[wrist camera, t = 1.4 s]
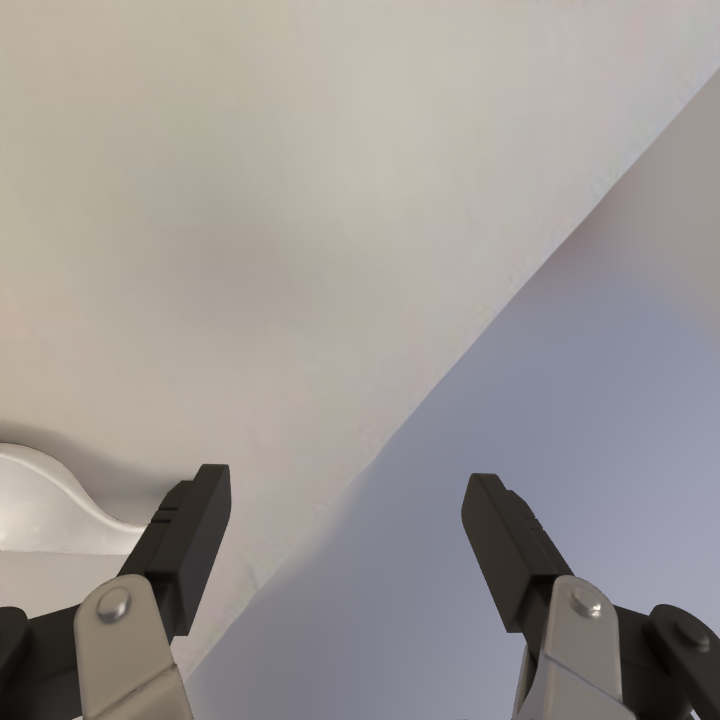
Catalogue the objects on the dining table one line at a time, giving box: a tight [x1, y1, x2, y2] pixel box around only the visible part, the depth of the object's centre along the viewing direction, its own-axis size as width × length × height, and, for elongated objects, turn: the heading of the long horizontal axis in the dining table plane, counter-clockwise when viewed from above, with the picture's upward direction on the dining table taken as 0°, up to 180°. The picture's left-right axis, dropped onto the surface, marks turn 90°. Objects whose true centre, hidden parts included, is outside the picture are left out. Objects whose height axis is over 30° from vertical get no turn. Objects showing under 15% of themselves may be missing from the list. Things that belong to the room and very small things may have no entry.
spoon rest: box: [0, 443, 148, 555], centre depth 32 cm, size 24×12×7 cm, turn 69°
